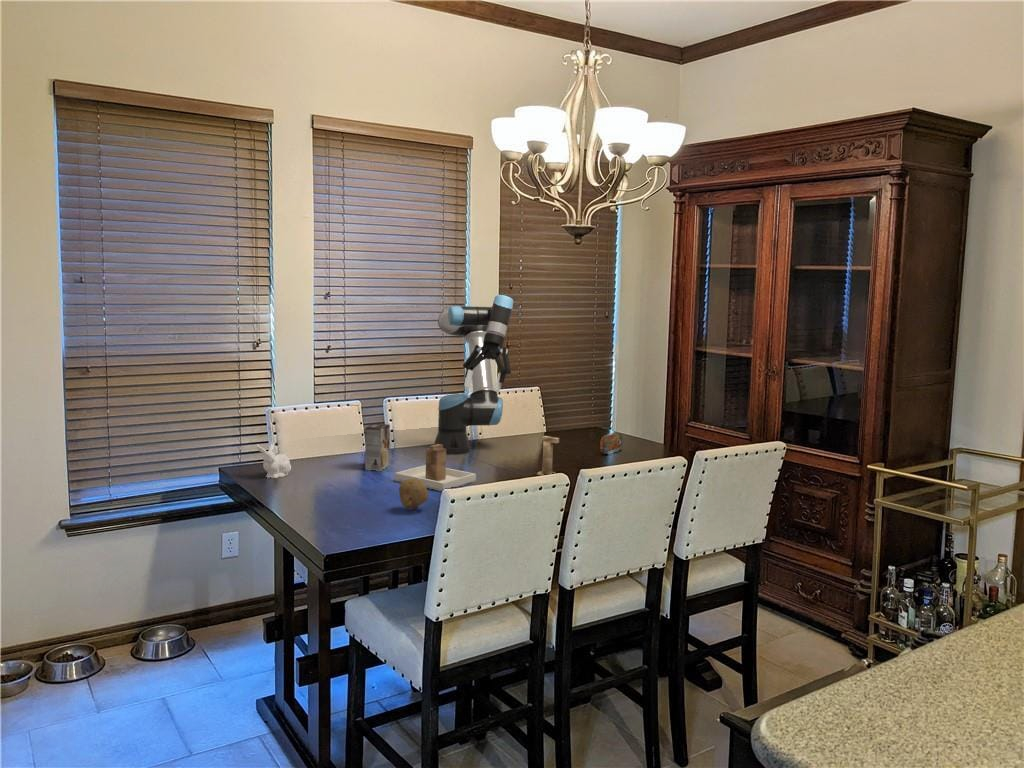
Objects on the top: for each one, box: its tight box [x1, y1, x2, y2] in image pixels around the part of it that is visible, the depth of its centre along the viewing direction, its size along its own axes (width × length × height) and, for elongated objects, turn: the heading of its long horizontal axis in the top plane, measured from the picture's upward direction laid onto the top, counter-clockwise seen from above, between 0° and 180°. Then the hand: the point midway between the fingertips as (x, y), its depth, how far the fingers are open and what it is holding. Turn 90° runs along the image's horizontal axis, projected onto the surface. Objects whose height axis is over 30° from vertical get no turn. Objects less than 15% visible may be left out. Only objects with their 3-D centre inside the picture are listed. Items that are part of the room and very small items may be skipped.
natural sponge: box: [398, 478, 429, 511], centre depth 252 cm, size 9×9×10 cm
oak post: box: [537, 435, 560, 475], centre depth 300 cm, size 8×7×15 cm
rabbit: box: [256, 441, 292, 479], centre depth 288 cm, size 12×9×12 cm
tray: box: [394, 464, 477, 493], centre depth 287 cm, size 22×18×3 cm
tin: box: [599, 432, 623, 453], centre depth 344 cm, size 15×3×8 cm, turn 143°
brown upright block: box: [425, 444, 447, 481], centre depth 286 cm, size 5×5×12 cm
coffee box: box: [364, 423, 391, 472], centre depth 303 cm, size 9×6×16 cm
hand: (481, 389), depth 305 cm, fingers open, 13 cm apart
